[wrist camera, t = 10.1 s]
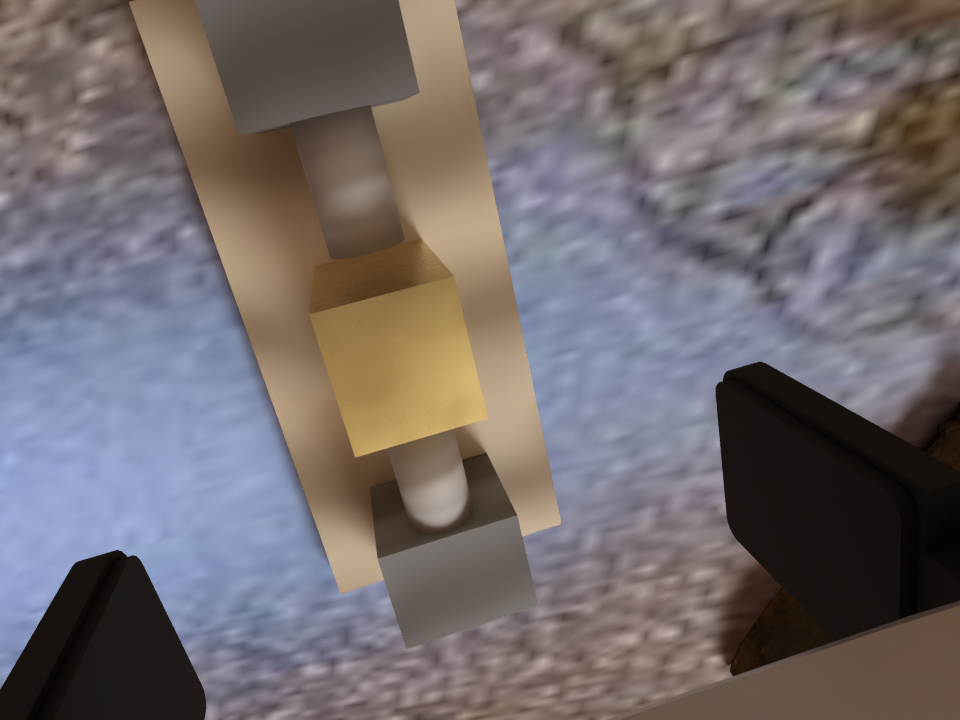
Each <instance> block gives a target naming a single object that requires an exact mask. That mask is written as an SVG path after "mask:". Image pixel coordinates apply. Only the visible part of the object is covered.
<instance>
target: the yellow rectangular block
mask: <svg viewBox="0 0 960 720" xmlns="http://www.w3.org/2000/svg"><path fill="white" fill-rule="evenodd" d="M309 316H310V319H311V322H312V325H313V328H314V331H315V334H316V338H317V341H318V344H319V347H320V350H321V353H322V356H323V359H324V362H325V365H326V369H327V372H328V375H329V378H330V381H331V384H332V387H333V390H334V393H335V397H336V400H337V403H338V406H339V409H340V412H341V415H342V418H343V421H344V424H345V428H346V431H347V434H348V437H349V440H350V443H351V446H352V449H353V452H354V455H355V458H356V457H359V456H362V455H366V454H369V453H373V452H376V451H379V450H383V449H386V448H390V447H393V446H396V445H400V444H403V443H407V442H410V441H414V440H417V439H420V438H424V437H427V436H431V435H434V434H437V433H441V432H444V431H448V430H451V429H454V428H458V427H461V426H465V425H468V424H472V423H475V422H478V421H482V420H485V419H488V417H487V413H486V408H485V404H484V400H483V396H482V392H481V387H480V383H479V379H478V375H477V370H476V366H475V362H474V358H473V353H472V349H471V345H470V341H469V337H468V332H467V328H466V324H465V320H464V315H463V311H462V307H461V303H460V298H459V294H458V290H457V286H456V282H455V277H454V275H453V274H452V273H451V272H450V271H449V269H448V268H447V267H446V266H445V265H444V264H443V263H442V261H441V260H440V259H439V258H438V257H437V256H436V255H435V253H434V252H433V251H432V250H431V249H430V248H429V246H428V245H427V244H426V243H425V242H424V241H423V240H422V239H420V240H416V241H412V242H408V243H404V244H400V245H397V246H393V247H391V248H388V249H385V250H382V251H379V252H375V253H371V254H368V255H363V256H359V257H353V258H347V259H342V260H338V261H334V262H330V263H326V264H322V265H319V266H315V270H314V278H313V286H312V294H311V303H310V311H309Z"/></svg>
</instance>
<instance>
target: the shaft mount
mask: <svg viewBox="0 0 960 720" xmlns="http://www.w3.org/2000/svg"><path fill="white" fill-rule="evenodd" d="M129 4H130V7H131V10H132V13H133V16H134V18H135V21H136V24H137V27H138V29H139V32H140V35H141V38H142V41H143V43H144V46H145V49H146V52H147V55H148V57H149V60H150V63H151V66H152V69H153V71H154V74H155V77H156V80H157V82H158V85H159V88H160V91H161V94H162V96H163V99H164V102H165V105H166V108H167V110H168V113H169V116H170V119H171V122H172V124H173V127H174V130H175V133H176V135H177V138H178V141H179V144H180V147H181V149H182V152H183V155H184V158H185V161H186V163H187V166H188V169H189V172H190V174H191V177H192V180H193V183H194V186H195V188H196V191H197V194H198V197H199V200H200V202H201V205H202V208H203V211H204V214H205V216H206V219H207V222H208V225H209V227H210V230H211V233H212V236H213V239H214V241H215V244H216V247H217V250H218V253H219V255H220V258H221V261H222V264H223V267H224V269H225V272H226V275H227V278H228V280H229V283H230V286H231V289H232V292H233V294H234V297H235V300H236V303H237V306H238V308H239V311H240V314H241V317H242V319H243V322H244V325H245V328H246V331H247V333H248V336H249V339H250V342H251V345H252V347H253V350H254V353H255V356H256V359H257V361H258V364H259V367H260V370H261V372H262V375H263V378H264V381H265V384H266V386H267V389H268V392H269V395H270V398H271V400H272V403H273V406H274V409H275V412H276V414H277V417H278V420H279V423H280V425H281V428H282V431H283V434H284V437H285V439H286V442H287V445H288V448H289V451H290V453H291V456H292V459H293V462H294V465H295V467H296V470H297V473H298V476H299V478H300V481H301V484H302V487H303V490H304V492H305V495H306V498H307V501H308V504H309V506H310V509H311V512H312V515H313V517H314V520H315V523H316V526H317V529H318V531H319V534H320V537H321V540H322V543H323V545H324V548H325V551H326V554H327V557H328V559H329V562H330V565H331V568H332V570H333V573H334V576H335V579H336V582H337V584H338V587H339V590H340V593H344V592H347V591H351V590H354V589H357V588H360V587H363V586H366V585H370V584H373V583H376V582H379V581H382V580H384V581H385V584H386V587H387V590H388V593H389V596H390V599H391V602H392V605H393V608H394V611H395V614H396V617H397V620H398V623H399V626H400V629H401V633H402V636H403V639H404V642H405V645H406V648H407V649H408V648H411V647H414V646H417V645H420V644H423V643H426V642H429V641H432V640H435V639H438V638H441V637H444V636H447V635H450V634H453V633H456V632H459V631H462V630H465V629H468V628H471V627H474V626H477V625H480V624H483V623H486V622H489V621H492V620H495V619H498V618H502V617H505V616H508V615H511V614H514V613H517V612H520V611H523V610H526V609H529V608H532V607H535V606H538V603H537V599H536V594H535V590H534V586H533V581H532V577H531V573H530V568H529V564H528V560H527V555H526V551H525V547H524V542H523V538H522V536H525V535H528V534H531V533H534V532H537V531H541V530H544V529H547V528H550V527H553V526H556V525H560V524H561V520H560V515H559V510H558V505H557V501H556V496H555V491H554V486H553V481H552V476H551V471H550V466H549V461H548V456H547V452H546V447H545V442H544V437H543V432H542V427H541V422H540V417H539V412H538V408H537V403H536V398H535V393H534V388H533V383H532V378H531V373H530V368H529V363H528V359H527V354H526V349H525V344H524V339H523V334H522V329H521V324H520V319H519V315H518V310H517V305H516V300H515V295H514V290H513V285H512V280H511V275H510V270H509V266H508V261H507V256H506V251H505V246H504V241H503V236H502V231H501V226H500V221H499V217H498V212H497V207H496V202H495V197H494V192H493V187H492V182H491V177H490V173H489V168H488V163H487V158H486V153H485V148H484V143H483V138H482V133H481V128H480V124H479V119H478V114H477V109H476V104H475V99H474V94H473V89H472V84H471V80H470V75H469V70H468V65H467V60H466V55H465V50H464V45H463V40H462V35H461V31H460V26H459V21H458V16H457V11H456V6H455V1H454V0H135V1H130V2H129ZM420 239H422V240H423V241H424V242H425V243H426V244H427V245H428V246H429V248H430V249H431V250H432V251H433V252H434V253H435V255H436V256H437V257H438V258H439V259H440V260H441V261H442V263H443V264H444V265H445V266H446V267H447V268H448V269H449V271H450V272H451V273H452V274H453V275H454V277H455V282H456V286H457V290H458V294H459V298H460V303H461V307H462V311H463V315H464V320H465V324H466V328H467V332H468V337H469V341H470V345H471V349H472V353H473V358H474V362H475V366H476V370H477V375H478V379H479V383H480V387H481V392H482V396H483V400H484V404H485V408H486V413H487V417H488V419H485V420H482V421H478V422H475V423H472V424H468V425H465V426H461V427H458V428H454V429H451V430H448V431H444V432H441V433H437V434H434V435H431V436H427V437H424V438H420V439H417V440H414V441H410V442H407V443H403V444H400V445H396V446H393V447H390V448H386V449H383V450H379V451H376V452H373V453H369V454H366V455H362V456H359V457H356V458H355V455H354V452H353V449H352V446H351V443H350V440H349V437H348V434H347V431H346V428H345V424H344V421H343V418H342V415H341V412H340V409H339V406H338V403H337V400H336V397H335V393H334V390H333V387H332V384H331V381H330V378H329V375H328V372H327V369H326V365H325V362H324V359H323V356H322V353H321V350H320V347H319V344H318V341H317V338H316V334H315V331H314V328H313V325H312V322H311V319H310V316H309V311H310V303H311V294H312V286H313V278H314V270H315V266H319V265H322V264H326V263H330V262H334V261H338V260H342V259H347V258H353V257H359V256H363V255H368V254H371V253H375V252H379V251H382V250H385V249H388V248H391V247H393V246H397V245H400V244H404V243H408V242H412V241H416V240H420Z"/></svg>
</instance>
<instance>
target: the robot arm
mask: <svg viewBox="0 0 960 720" xmlns="http://www.w3.org/2000/svg"><path fill="white" fill-rule="evenodd" d="M716 403H717V414H718V425H719V436H720V447H721V458H722V469H723V480H724V491H725V502H726V513H727V520H728V524H729V527H730V529H731V531H732V533H733V535H734V537H735V538H736V539H737V540H738V542H739V543H740V544H741V545H742V546H743V547H744V548H745V549H746V550H747V551H748V552H749V553H750V554H751V555H752V556H753V557H754V558H755V559H756V560H757V561H758V562H759V563H760V564H761V565H762V566H763V567H764V568H765V569H766V570H767V571H768V572H769V573H770V574H771V576H772V577H773V578H774V579H775V580H776V581H777V582H778V583H779V584H780V585H781V586H782V587H783V588H784V589H785V590H786V591H787V592H788V593H789V594H790V595H791V596H792V597H793V598H794V599H795V600H796V601H797V602H798V603H799V604H800V605H801V606H802V607H803V609H804V610H805V611H806V612H807V613H808V614H809V615H810V616H811V617H812V618H813V619H814V620H815V621H816V622H817V623H818V624H819V625H820V626H821V627H822V628H823V629H824V630H825V631H826V632H827V633H828V634H829V635H830V636H831V637H832V638H833V639H834V640H835V641H834V642H832V643H829V644H826V645H823V646H820V647H817V648H814V649H811V650H808V651H805V652H802V653H800V654H797V655H794V656H791V657H788V658H785V659H782V660H779V661H776V662H773V663H771V664H768V665H765V666H762V667H759V668H756V669H753V670H750V671H747V672H744V673H741V674H739V675H736V676H733V677H730V678H727V679H724V680H721V681H718V682H715V683H712V684H709V685H707V686H704V687H701V688H698V689H695V690H692V691H689V692H686V693H683V694H680V695H678V696H675V697H672V698H669V699H666V700H663V701H660V702H657V703H654V704H651V705H649V706H646V707H643V708H640V709H637V710H634V711H631V712H629V713H626V714H623V715H620V716H617V717H614V718H611V719H609V720H960V471H958V470H956V469H955V468H953V467H951V466H949V465H947V464H946V463H944V462H942V461H940V460H938V459H937V458H935V457H933V456H931V455H929V454H928V453H926V452H924V451H922V450H920V449H919V448H917V447H915V446H913V445H911V444H910V443H908V442H906V441H904V440H902V439H901V438H899V437H897V436H895V435H893V434H892V433H890V432H888V431H886V430H884V429H883V428H881V427H879V426H877V425H875V424H874V423H872V422H870V421H868V420H866V419H865V418H863V417H861V416H859V415H857V414H856V413H854V412H852V411H850V410H848V409H847V408H845V407H843V406H841V405H839V404H838V403H836V402H834V401H832V400H830V399H829V398H827V397H825V396H823V395H821V394H820V393H818V392H816V391H814V390H812V389H811V388H809V387H807V386H805V385H803V384H802V383H800V382H798V381H796V380H794V379H793V378H791V377H789V376H787V375H785V374H784V373H782V372H780V371H778V370H776V369H775V368H773V367H771V366H769V365H767V364H766V363H763V362H757V363H753V364H750V365H746V366H743V367H740V368H736V369H733V370H729V371H727V372H726V373H725V374H724V378H723V382H719V383H718V384H717V386H716ZM205 713H206V699H205V693H204V689H203V687H202V684H201V682H200V680H199V678H198V676H197V674H196V672H195V670H194V668H193V666H192V664H191V662H190V660H189V658H188V656H187V654H186V652H185V650H184V648H183V646H182V644H181V641H180V639H179V637H178V635H177V633H176V631H175V629H174V627H173V625H172V623H171V621H170V619H169V617H168V615H167V613H166V611H165V609H164V607H163V605H162V603H161V601H160V599H159V597H158V595H157V593H156V590H155V588H154V586H153V584H152V582H151V580H150V578H149V576H148V574H147V572H146V570H145V568H144V566H143V564H142V562H141V561H140V559H139V558H138V557H137V556H134V555H133V556H129V557H127V556H126V555H125V554H124V553H123V552H122V551H119V550H116V551H112V552H109V553H105V554H102V555H99V556H95V557H92V558H88V559H85V560H82V561H78V562H76V563H75V564H74V565H73V566H72V568H71V570H70V571H69V573H68V575H67V576H66V578H65V580H64V582H63V583H62V585H61V587H60V588H59V590H58V592H57V594H56V595H55V597H54V599H53V600H52V602H51V604H50V606H49V607H48V609H47V611H46V612H45V614H44V616H43V618H42V619H41V621H40V623H39V624H38V626H37V628H36V630H35V631H34V633H33V635H32V636H31V638H30V640H29V642H28V643H27V645H26V647H25V648H24V650H23V652H22V654H21V655H20V657H19V659H18V660H17V662H16V664H15V665H14V667H13V669H12V671H11V672H10V674H9V676H8V677H7V679H6V681H5V683H4V684H3V686H2V688H1V689H0V720H204V718H205Z"/></svg>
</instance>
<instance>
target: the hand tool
mask: <svg viewBox="0 0 960 720" xmlns="http://www.w3.org/2000/svg"><path fill="white" fill-rule="evenodd" d="M939 434H940V436H939V437H938V438H937V440H936V441H935V442H934V443H933V444H932V445H931V446H930V448H929V449H928V450H927V451H926V453H928V454H929V455H931V456H933V457H935V458H937V459H938V460H940V461H942V462H944V463H946V464H947V465H949V466H951V467H953V468H955V469H956V470H958V471H960V403H959V412H958V415H957V416H956V418H955V420H950V421H946V422H943V423H941V424H939ZM834 641H835V640H834V639H833V638H832V637H831V636H830V635H829V634H828V633H827V632H826V631H825V630H824V629H823V628H822V627H821V626H820V625H819V624H818V623H817V622H816V621H815V620H814V619H813V618H812V617H811V616H810V615H809V614H808V613H807V612H806V611H805V610H804V609H803V607H802V606H801V605H800V604H799V603H798V602H797V601H796V600H795V599H794V598H793V597H792V596H791V595H790V594H789V593H788V592H787V591H786V590H785V589H784V588H782V589H781V590H780V591H779V592H778V593H777V594H776V596H775V597H774V598H773V599H772V600H771V602H770V603H769V604H768V605H767V607H766V608H765V609H764V611H763V612H762V613H761V615H760V616H759V618H758V619H757V621H756V622H755V624H754V625H753V627H752V628H751V630H750V631H749V633H748V635H747V636H746V638H745V640H744V642H743V643H742V645H741V647H740V649H739V651H738V653H737V655H736V657H735V659H734V661H733V662H732V664H731V668H730V672H731V674H732V675H733V676H736V675H739V674H741V673H744V672H747V671H750V670H753V669H756V668H759V667H762V666H765V665H768V664H771V663H773V662H776V661H779V660H782V659H785V658H788V657H791V656H794V655H797V654H800V653H802V652H805V651H808V650H811V649H814V648H817V647H820V646H823V645H826V644H829V643H832V642H834Z"/></svg>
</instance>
